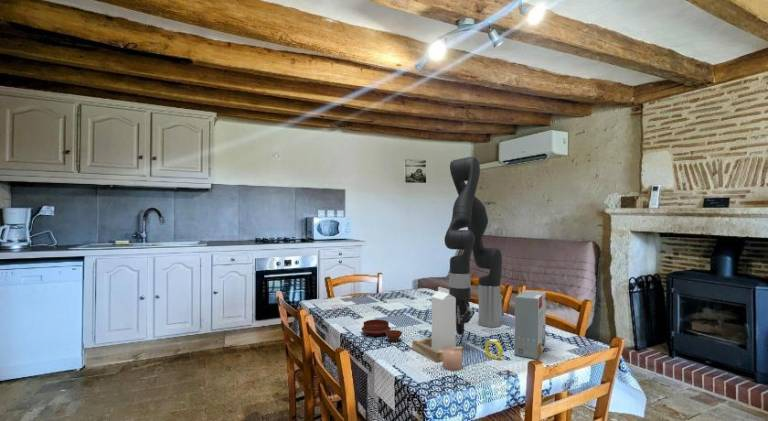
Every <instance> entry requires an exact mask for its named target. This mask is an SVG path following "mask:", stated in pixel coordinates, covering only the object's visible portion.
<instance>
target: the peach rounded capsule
mask: <svg viewBox="0 0 768 421" xmlns="http://www.w3.org/2000/svg"><path fill="white" fill-rule="evenodd" d="M442 368H443V369H444V370H447V371H453V372H455V371H461V370H462V369H463V357H462V351H461V350H460V349H457V348H445V349H443V361H442Z"/></svg>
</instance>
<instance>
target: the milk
mask: <svg viewBox="0 0 768 421" xmlns="http://www.w3.org/2000/svg"><path fill="white" fill-rule="evenodd" d="M437 287H438V288H437V291H436V292H435V293H434V294H433V295H432V296H431V337H432V347H431V348H433V349H435V350H437V351H441V350H443V349H445V348H454V347H457V343H456V342H457V340H456V339H457V333H456V298H455V297H454V296H452V295H450V294H449V288H445V287H441V286H437Z"/></svg>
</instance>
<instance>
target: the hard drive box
mask: <svg viewBox="0 0 768 421" xmlns="http://www.w3.org/2000/svg"><path fill="white" fill-rule="evenodd" d="M546 295H547V294H546V292H545V291H536V290H529V289H528V290H527V289H525V290H523V291H522V292H520V293H519V294H517V295H516V296H515V297H514V340H513V341H514V345H513V346H514V347H513V349H514V352H513V353H514V356H520V357H524V358H529V359H534V360H538V358H540V356H541V354H542V352H544V350H545V348H546V311H547V310H546V309H547V307H546V305H547V304H546Z"/></svg>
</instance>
